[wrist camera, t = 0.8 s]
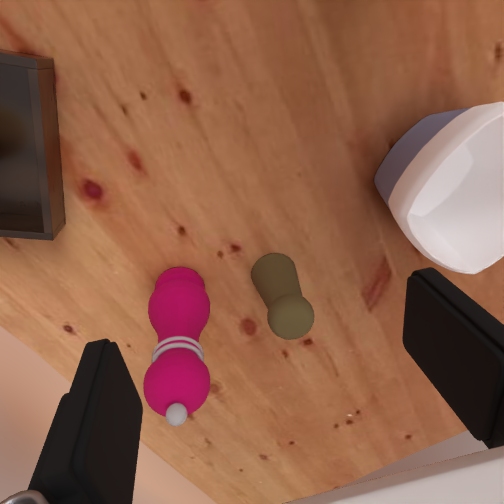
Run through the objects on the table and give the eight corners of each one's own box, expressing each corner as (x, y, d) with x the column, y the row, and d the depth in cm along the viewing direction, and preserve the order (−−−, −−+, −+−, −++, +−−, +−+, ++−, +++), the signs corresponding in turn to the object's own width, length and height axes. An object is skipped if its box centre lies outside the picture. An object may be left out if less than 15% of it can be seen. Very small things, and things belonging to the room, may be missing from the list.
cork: (248, 291, 49) (263, 348, 39) (254, 252, 46) (271, 303, 36) (291, 292, 50) (315, 347, 40) (299, 253, 47) (327, 304, 38)
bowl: (415, 246, 49) (470, 292, 40) (338, 185, 43) (381, 222, 34) (505, 154, 45) (593, 181, 35) (434, 71, 39) (515, 76, 29)
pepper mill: (139, 282, 45) (110, 422, 28) (185, 252, 44) (185, 378, 27) (174, 318, 49) (168, 462, 32) (218, 291, 48) (237, 424, 31)
